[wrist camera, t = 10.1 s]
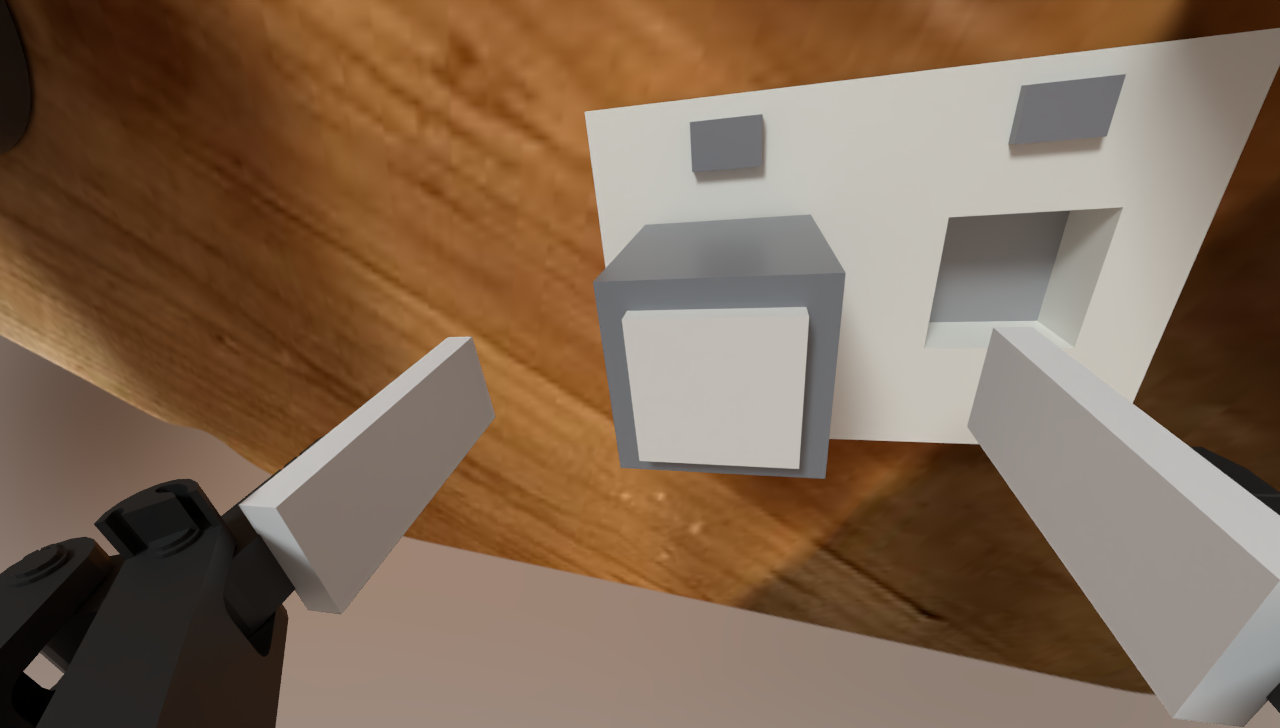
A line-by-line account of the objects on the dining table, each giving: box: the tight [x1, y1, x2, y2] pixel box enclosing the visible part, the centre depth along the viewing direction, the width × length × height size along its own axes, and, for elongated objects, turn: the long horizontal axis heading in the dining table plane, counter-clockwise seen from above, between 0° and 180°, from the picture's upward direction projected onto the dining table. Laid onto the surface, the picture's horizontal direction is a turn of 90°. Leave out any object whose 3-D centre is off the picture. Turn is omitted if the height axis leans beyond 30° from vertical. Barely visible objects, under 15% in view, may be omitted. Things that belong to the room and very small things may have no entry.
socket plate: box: [585, 28, 1280, 444], centre depth 19 cm, size 20×14×3 cm
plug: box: [593, 214, 846, 479], centre depth 17 cm, size 6×6×11 cm
